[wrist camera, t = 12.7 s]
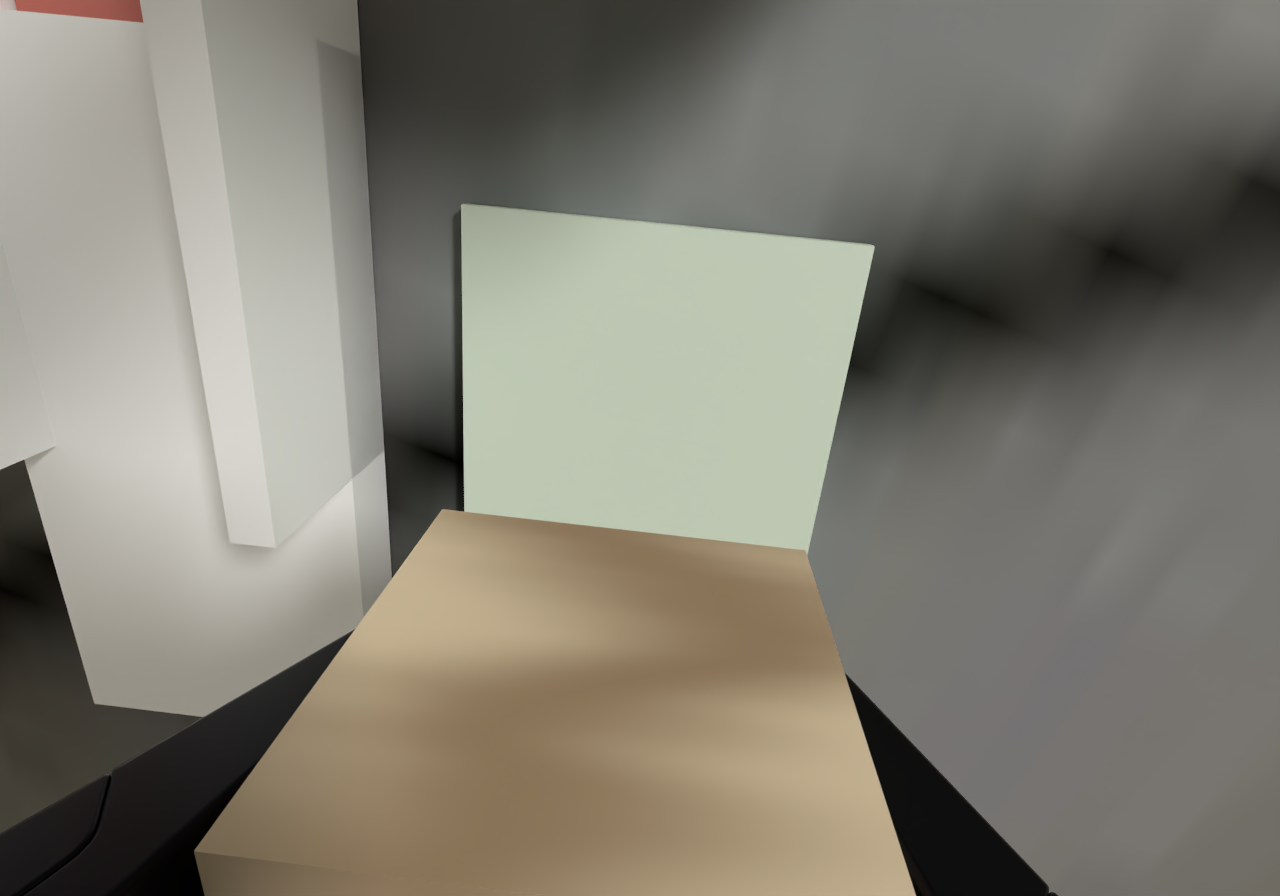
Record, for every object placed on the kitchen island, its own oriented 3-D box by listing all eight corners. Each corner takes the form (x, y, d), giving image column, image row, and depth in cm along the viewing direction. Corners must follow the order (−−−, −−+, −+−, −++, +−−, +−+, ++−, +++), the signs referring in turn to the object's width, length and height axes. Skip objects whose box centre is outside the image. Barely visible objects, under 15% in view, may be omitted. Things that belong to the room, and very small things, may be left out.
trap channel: (330, -435, 12) (83, -862, 7) (398, 692, 23) (315, 840, 18) (-134, -471, 13) (-689, -911, 8) (142, 661, 23) (-13, 798, 18)
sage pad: (869, 243, 16) (874, 246, 16) (795, 586, 20) (798, 596, 20) (467, 203, 16) (460, 204, 16) (469, 549, 20) (464, 558, 20)
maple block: (805, 550, 9) (931, 944, 4) (747, 810, 11) (794, 1274, 6) (442, 508, 9) (194, 851, 4) (448, 773, 11) (279, 1202, 6)
